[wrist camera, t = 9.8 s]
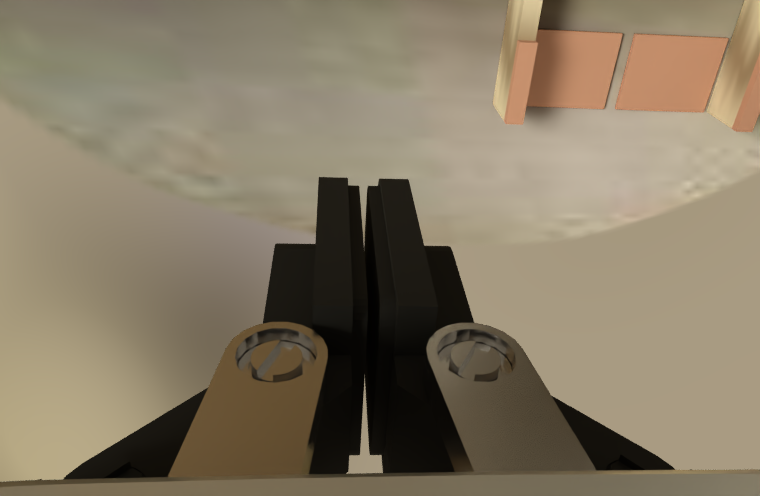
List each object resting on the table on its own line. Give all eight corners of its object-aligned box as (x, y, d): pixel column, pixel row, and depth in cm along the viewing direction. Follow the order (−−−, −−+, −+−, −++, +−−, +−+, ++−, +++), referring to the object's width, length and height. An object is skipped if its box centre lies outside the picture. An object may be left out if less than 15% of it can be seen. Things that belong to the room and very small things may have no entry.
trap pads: (504, 27, 36) (519, 42, 33) (747, 38, 38) (782, 53, 35) (492, 104, 39) (506, 123, 36) (721, 112, 40) (752, 131, 37)
